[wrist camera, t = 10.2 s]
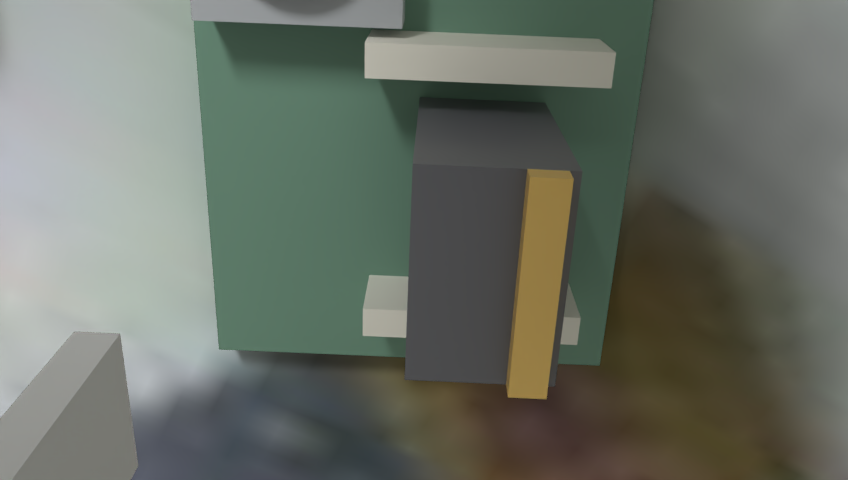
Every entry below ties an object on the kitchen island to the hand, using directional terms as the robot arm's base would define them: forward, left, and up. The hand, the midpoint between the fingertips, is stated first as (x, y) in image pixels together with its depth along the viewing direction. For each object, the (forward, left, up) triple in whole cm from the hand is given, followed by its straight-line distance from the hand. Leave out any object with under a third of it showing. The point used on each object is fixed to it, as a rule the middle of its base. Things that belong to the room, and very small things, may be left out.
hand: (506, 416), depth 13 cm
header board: (-2, -2, -15) cm, 15 cm away
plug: (+1, 0, -13) cm, 13 cm away
